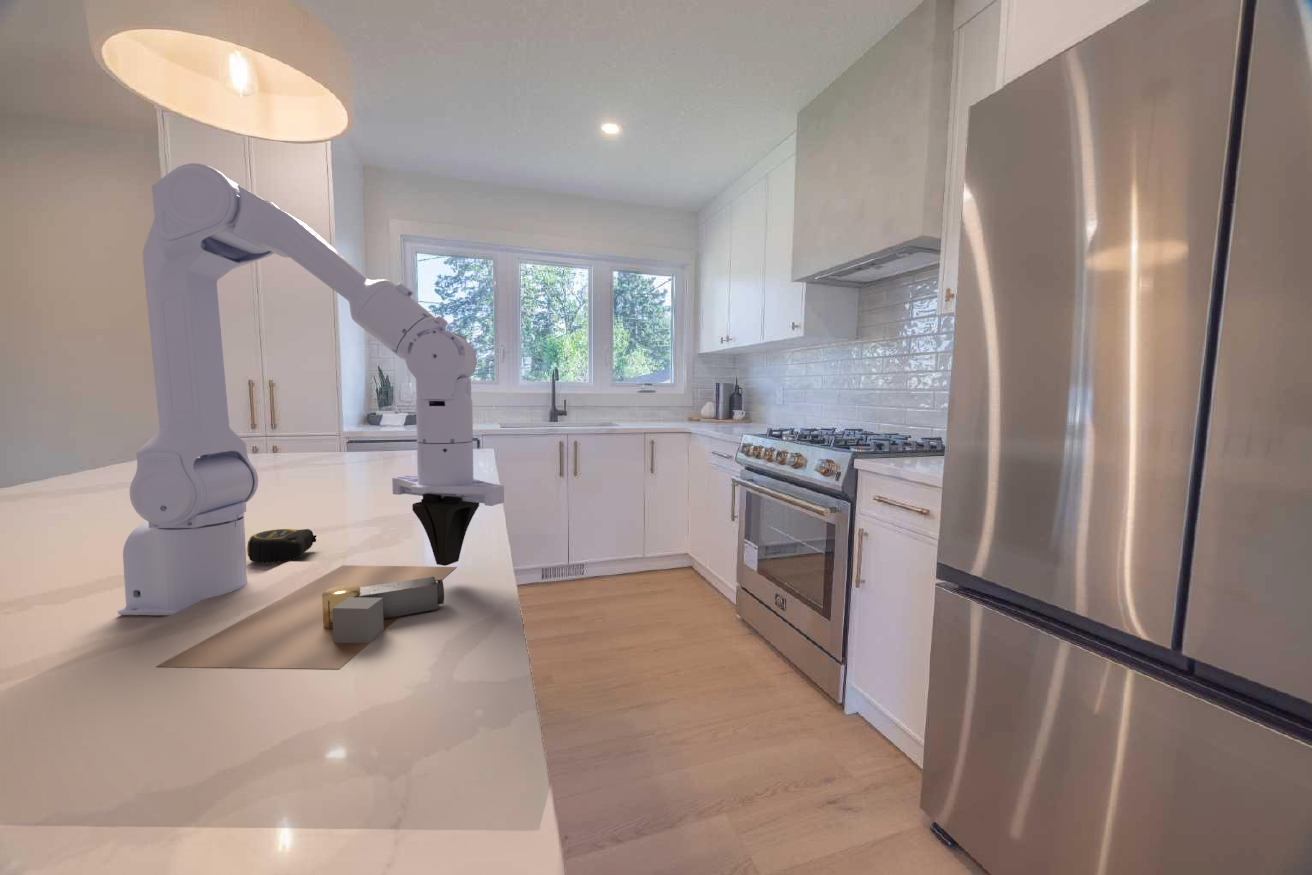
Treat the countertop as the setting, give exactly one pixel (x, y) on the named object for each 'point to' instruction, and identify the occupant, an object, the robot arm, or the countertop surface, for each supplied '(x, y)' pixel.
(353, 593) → the gold-capped grey rod
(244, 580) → the robot arm
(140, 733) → the countertop surface
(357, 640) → the block
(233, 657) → the wooden board
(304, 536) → the tape measure
